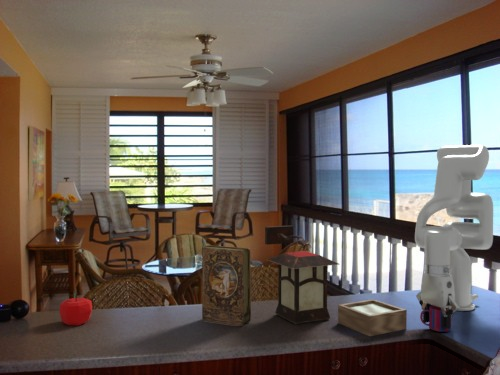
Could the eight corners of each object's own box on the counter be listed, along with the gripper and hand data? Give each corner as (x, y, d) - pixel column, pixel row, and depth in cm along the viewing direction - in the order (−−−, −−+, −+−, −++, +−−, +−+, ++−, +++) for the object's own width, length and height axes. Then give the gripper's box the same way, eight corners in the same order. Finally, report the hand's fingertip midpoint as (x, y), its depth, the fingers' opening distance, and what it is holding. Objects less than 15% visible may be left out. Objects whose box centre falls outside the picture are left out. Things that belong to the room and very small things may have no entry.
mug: (455, 331, 161) (455, 310, 161) (423, 332, 161) (423, 311, 160) (446, 324, 168) (446, 303, 167) (415, 325, 167) (415, 304, 167)
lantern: (300, 303, 198) (300, 225, 196) (339, 320, 174) (340, 232, 173) (256, 308, 190) (256, 227, 189) (292, 328, 166) (292, 235, 165)
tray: (373, 316, 179) (373, 299, 179) (406, 329, 165) (406, 309, 165) (338, 323, 171) (338, 304, 171) (369, 336, 158) (369, 316, 158)
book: (199, 321, 174) (199, 247, 173) (207, 316, 179) (207, 245, 178) (243, 327, 167) (243, 250, 166) (250, 322, 172) (250, 248, 171)
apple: (96, 324, 170) (95, 294, 170) (62, 329, 165) (61, 298, 165) (89, 316, 179) (88, 288, 179) (56, 321, 174) (56, 291, 174)
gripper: (468, 273, 157) (467, 331, 158) (424, 263, 172) (423, 316, 173) (451, 276, 153) (450, 335, 154) (407, 265, 168) (407, 319, 169)
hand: (436, 324), depth 163 cm, fingers closed on mug, 6 cm apart
